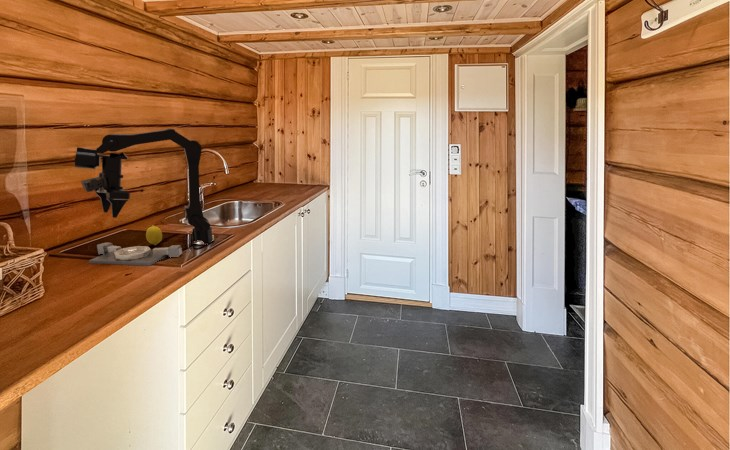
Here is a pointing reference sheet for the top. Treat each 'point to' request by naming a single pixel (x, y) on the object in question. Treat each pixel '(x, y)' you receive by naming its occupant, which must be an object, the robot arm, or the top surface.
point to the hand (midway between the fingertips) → (109, 214)
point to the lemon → (153, 235)
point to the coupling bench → (127, 262)
